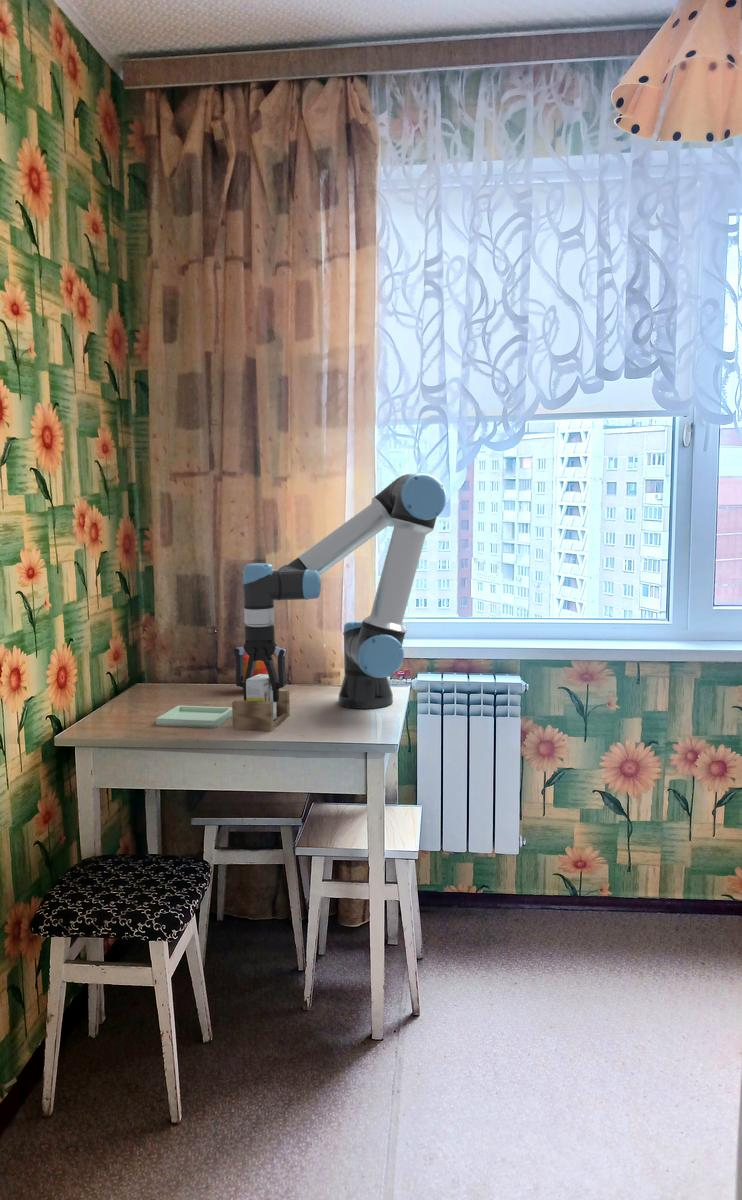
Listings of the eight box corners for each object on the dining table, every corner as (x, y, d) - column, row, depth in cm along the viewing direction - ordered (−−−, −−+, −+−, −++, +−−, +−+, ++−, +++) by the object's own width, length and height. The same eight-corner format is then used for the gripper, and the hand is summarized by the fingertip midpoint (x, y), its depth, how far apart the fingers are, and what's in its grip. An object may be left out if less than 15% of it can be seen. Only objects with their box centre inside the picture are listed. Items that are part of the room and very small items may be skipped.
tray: (234, 714, 244) (234, 707, 244) (215, 727, 230) (215, 720, 230) (178, 711, 247) (178, 705, 247) (156, 725, 234) (156, 718, 233)
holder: (289, 715, 242) (289, 689, 241) (271, 731, 226) (270, 703, 226) (253, 713, 244) (253, 688, 243) (232, 729, 228) (232, 702, 228)
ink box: (263, 727, 230) (262, 681, 229) (246, 725, 232) (244, 680, 230) (277, 718, 238) (276, 674, 237) (260, 717, 240) (259, 673, 239)
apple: (233, 694, 268) (232, 653, 266) (243, 687, 276) (242, 648, 275) (263, 695, 266) (262, 654, 264) (272, 688, 275) (271, 649, 273)
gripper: (298, 622, 234) (300, 711, 237) (230, 621, 237) (233, 708, 240) (289, 627, 227) (292, 718, 229) (219, 625, 230) (222, 715, 233)
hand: (261, 713), depth 235 cm, fingers closed on ink box, 5 cm apart
